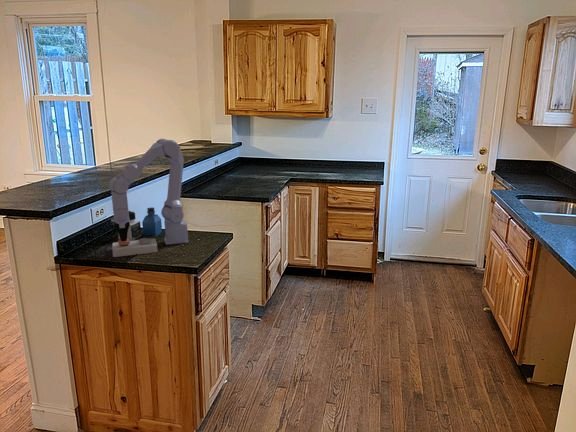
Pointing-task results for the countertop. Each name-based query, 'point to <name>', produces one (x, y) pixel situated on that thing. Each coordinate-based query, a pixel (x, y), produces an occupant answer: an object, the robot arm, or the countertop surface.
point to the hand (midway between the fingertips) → (123, 240)
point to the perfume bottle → (152, 223)
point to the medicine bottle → (133, 227)
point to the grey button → (144, 241)
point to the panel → (134, 248)
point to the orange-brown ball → (124, 242)
